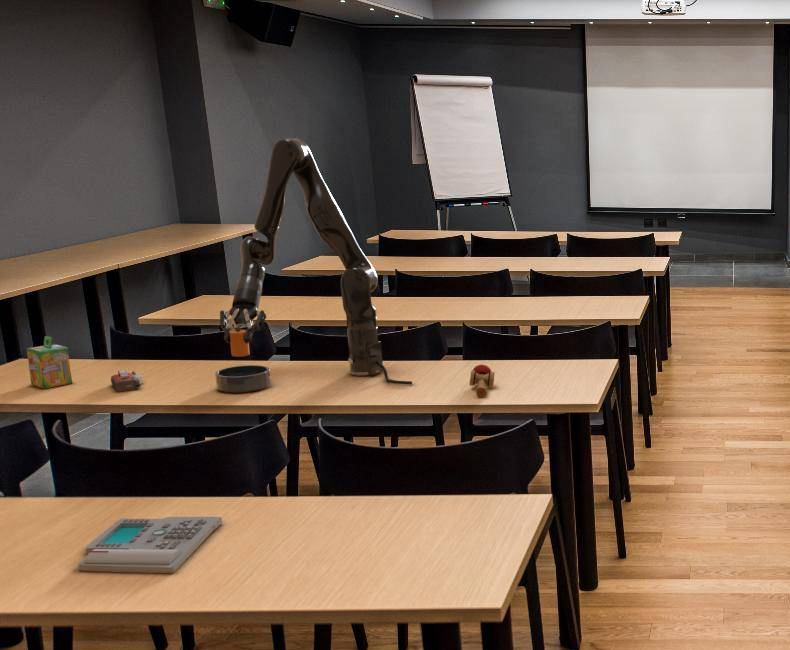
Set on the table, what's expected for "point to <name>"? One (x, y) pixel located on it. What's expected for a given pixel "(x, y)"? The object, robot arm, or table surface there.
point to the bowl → (243, 378)
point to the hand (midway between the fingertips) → (237, 341)
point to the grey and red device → (126, 381)
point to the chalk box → (49, 365)
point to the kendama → (482, 379)
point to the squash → (238, 343)
